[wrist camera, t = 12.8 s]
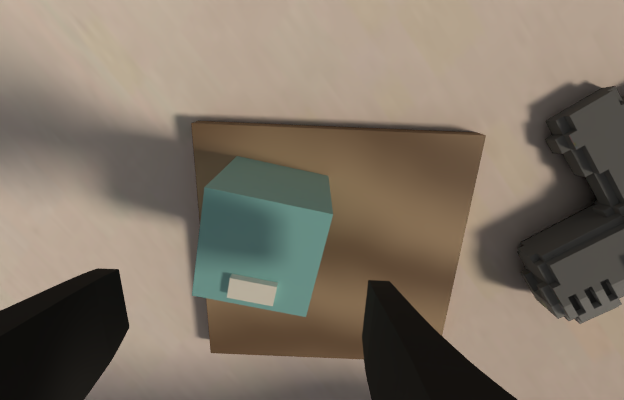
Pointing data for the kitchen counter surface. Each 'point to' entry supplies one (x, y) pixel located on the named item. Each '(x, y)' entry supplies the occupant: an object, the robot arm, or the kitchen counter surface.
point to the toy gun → (584, 215)
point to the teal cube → (262, 236)
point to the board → (352, 226)
